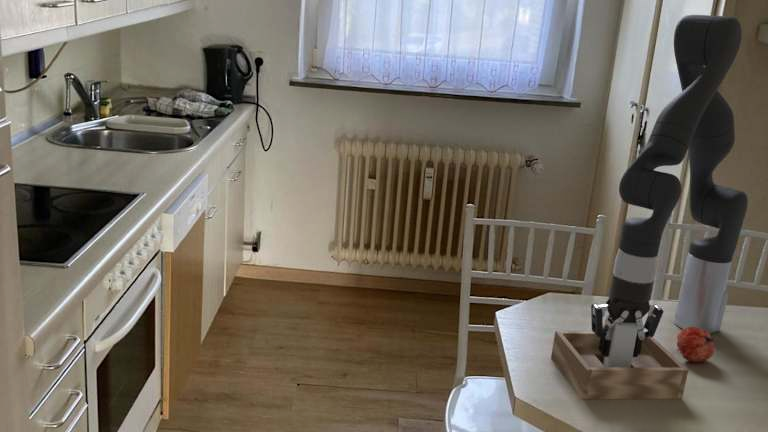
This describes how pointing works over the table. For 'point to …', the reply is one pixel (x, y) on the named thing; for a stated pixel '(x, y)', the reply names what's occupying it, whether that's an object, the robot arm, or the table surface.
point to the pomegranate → (695, 344)
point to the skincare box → (622, 345)
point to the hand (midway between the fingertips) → (618, 354)
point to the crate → (617, 369)
